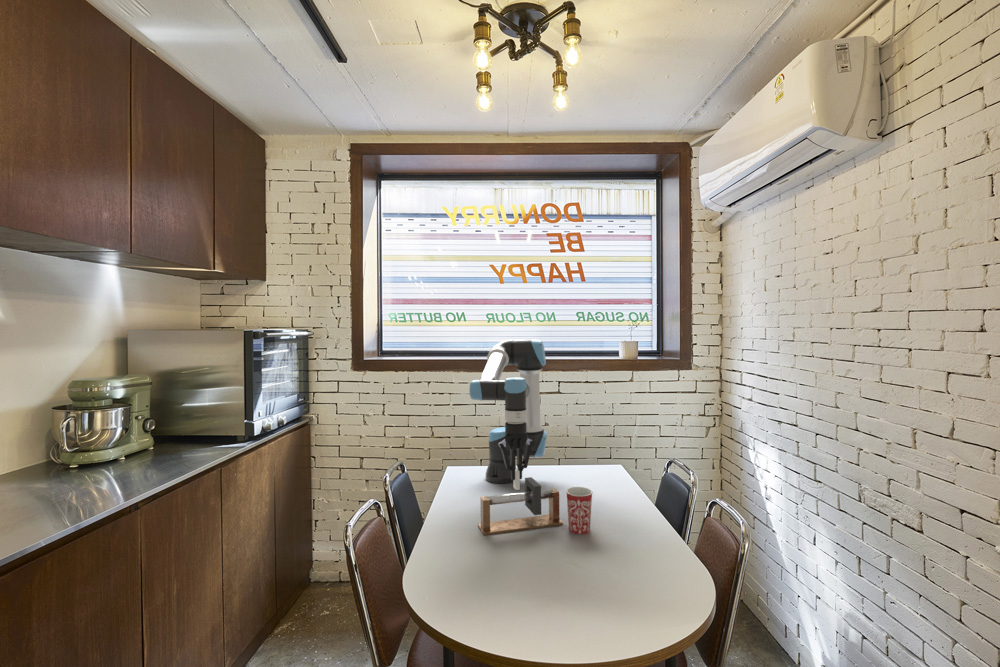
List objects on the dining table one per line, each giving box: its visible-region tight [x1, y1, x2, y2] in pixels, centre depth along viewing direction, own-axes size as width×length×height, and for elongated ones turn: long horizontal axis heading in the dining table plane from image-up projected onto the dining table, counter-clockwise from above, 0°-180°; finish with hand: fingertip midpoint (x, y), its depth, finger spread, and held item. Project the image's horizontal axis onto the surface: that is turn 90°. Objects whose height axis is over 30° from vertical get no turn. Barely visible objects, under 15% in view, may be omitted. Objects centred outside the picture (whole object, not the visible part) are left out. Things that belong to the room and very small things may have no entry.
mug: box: [565, 486, 594, 535], centre depth 166 cm, size 13×9×14 cm
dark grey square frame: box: [524, 476, 542, 516], centre depth 169 cm, size 2×10×10 cm, turn 16°
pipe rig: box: [477, 488, 564, 536], centre depth 168 cm, size 29×8×12 cm, turn 106°
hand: (516, 488), depth 168 cm, fingers closed
